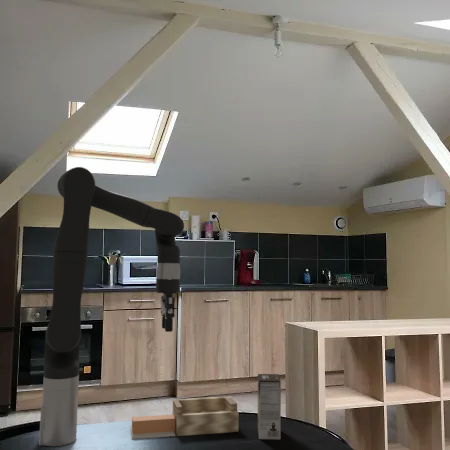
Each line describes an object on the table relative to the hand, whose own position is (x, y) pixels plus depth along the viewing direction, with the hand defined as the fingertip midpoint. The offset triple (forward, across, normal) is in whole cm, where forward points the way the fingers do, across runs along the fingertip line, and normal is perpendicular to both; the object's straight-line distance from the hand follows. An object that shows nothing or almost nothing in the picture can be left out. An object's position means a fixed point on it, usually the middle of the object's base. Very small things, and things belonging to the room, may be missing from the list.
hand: (167, 329), depth 146 cm
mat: (+28, +7, -4) cm, 29 cm away
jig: (+28, +7, +10) cm, 31 cm away
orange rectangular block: (+28, +7, -4) cm, 29 cm away
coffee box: (+28, +16, +28) cm, 43 cm away
